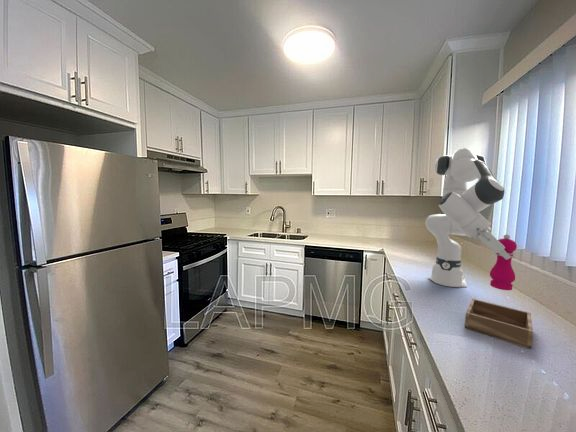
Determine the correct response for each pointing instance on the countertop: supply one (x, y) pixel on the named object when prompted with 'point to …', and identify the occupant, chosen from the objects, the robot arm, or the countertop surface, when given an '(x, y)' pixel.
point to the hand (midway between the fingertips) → (506, 256)
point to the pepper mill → (504, 267)
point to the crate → (500, 322)
